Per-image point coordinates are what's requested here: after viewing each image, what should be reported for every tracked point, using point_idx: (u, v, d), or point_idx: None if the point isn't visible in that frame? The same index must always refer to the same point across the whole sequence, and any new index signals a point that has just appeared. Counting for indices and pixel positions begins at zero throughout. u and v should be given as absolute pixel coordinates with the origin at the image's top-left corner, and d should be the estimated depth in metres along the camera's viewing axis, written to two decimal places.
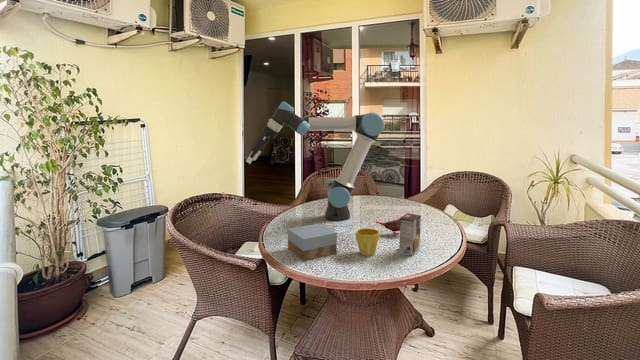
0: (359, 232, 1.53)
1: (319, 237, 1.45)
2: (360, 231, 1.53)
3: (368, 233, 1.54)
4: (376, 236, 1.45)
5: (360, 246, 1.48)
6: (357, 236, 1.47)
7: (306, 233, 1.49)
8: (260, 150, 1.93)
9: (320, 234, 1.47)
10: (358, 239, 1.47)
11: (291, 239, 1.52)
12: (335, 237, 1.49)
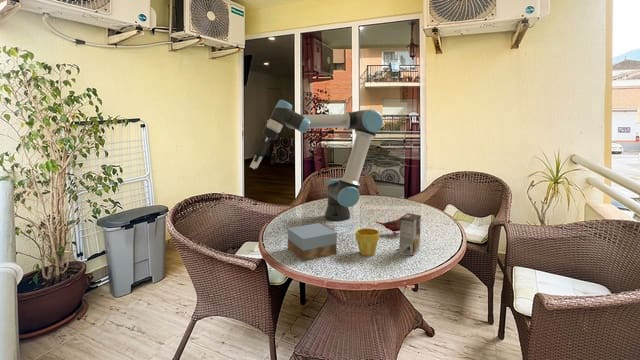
0: (359, 232, 1.53)
1: (319, 237, 1.45)
2: (360, 231, 1.53)
3: (368, 233, 1.54)
4: (376, 236, 1.45)
5: (360, 246, 1.48)
6: (357, 236, 1.47)
7: (306, 232, 1.49)
8: (261, 156, 1.81)
9: (320, 234, 1.47)
10: (358, 239, 1.47)
11: (291, 239, 1.52)
12: (335, 237, 1.49)
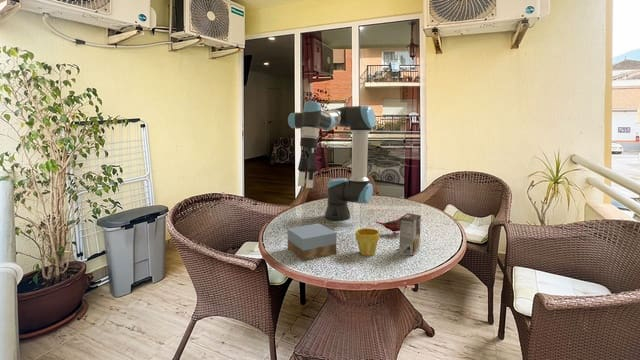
0: (359, 232, 1.53)
1: (319, 237, 1.45)
2: (360, 231, 1.53)
3: (368, 233, 1.54)
4: (376, 236, 1.45)
5: (360, 246, 1.48)
6: (357, 236, 1.47)
7: (306, 233, 1.49)
8: (303, 171, 1.56)
9: (320, 234, 1.47)
10: (358, 239, 1.47)
11: (291, 239, 1.52)
12: (335, 237, 1.49)
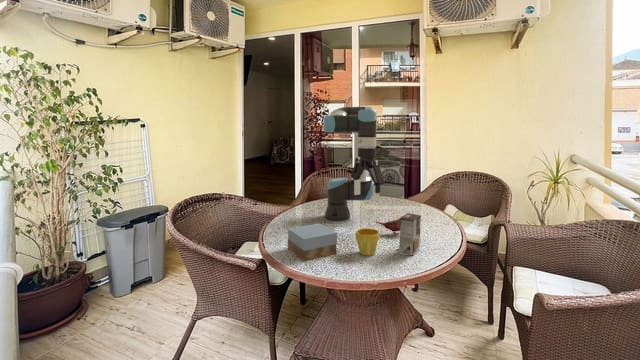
0: (359, 232, 1.53)
1: (319, 237, 1.45)
2: (360, 231, 1.53)
3: (368, 233, 1.54)
4: (376, 236, 1.45)
5: (360, 246, 1.48)
6: (357, 236, 1.47)
7: (307, 233, 1.49)
8: (358, 179, 1.52)
9: (320, 234, 1.47)
10: (358, 239, 1.47)
11: (291, 239, 1.52)
12: (335, 237, 1.49)
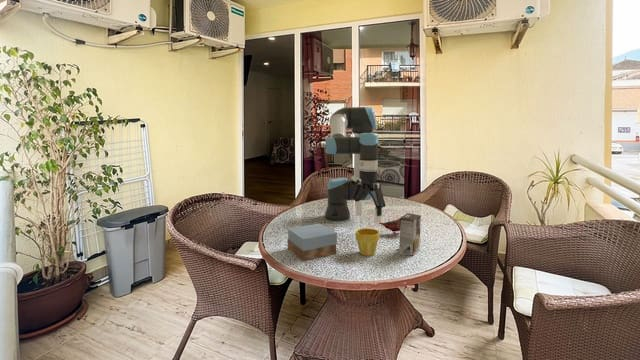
0: (359, 232, 1.53)
1: (319, 237, 1.45)
2: (360, 231, 1.53)
3: (368, 233, 1.54)
4: (376, 236, 1.45)
5: (360, 246, 1.48)
6: (357, 236, 1.47)
7: (306, 233, 1.49)
8: (359, 200, 1.53)
9: (320, 234, 1.47)
10: (358, 239, 1.47)
11: (291, 239, 1.52)
12: (335, 237, 1.49)
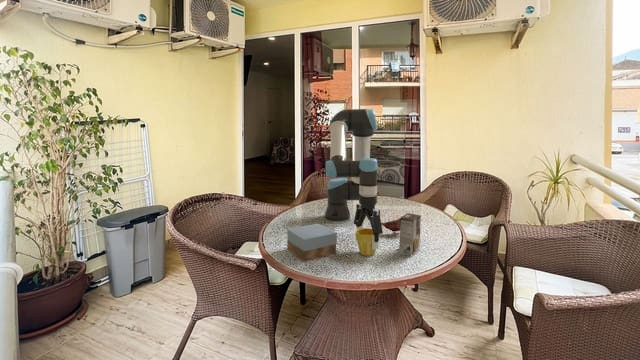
0: (359, 232, 1.53)
1: (319, 237, 1.45)
2: (360, 231, 1.53)
3: (368, 233, 1.54)
4: None
5: (360, 246, 1.48)
6: (357, 236, 1.47)
7: (306, 233, 1.48)
8: (360, 226, 1.54)
9: (320, 234, 1.47)
10: (358, 239, 1.47)
11: (291, 239, 1.52)
12: (335, 237, 1.49)
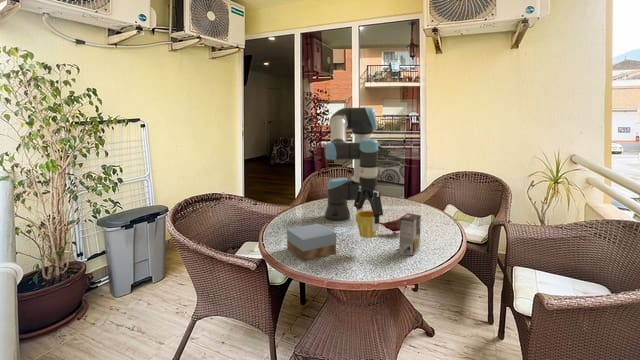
0: (359, 214, 1.52)
1: (319, 237, 1.45)
2: (360, 214, 1.52)
3: (368, 216, 1.53)
4: None
5: (360, 228, 1.47)
6: (357, 218, 1.46)
7: (306, 233, 1.48)
8: None
9: (319, 234, 1.47)
10: (358, 221, 1.46)
11: (290, 239, 1.52)
12: (335, 237, 1.49)
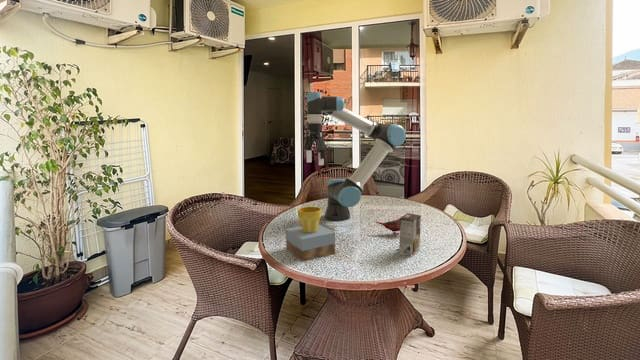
0: (303, 210, 1.54)
1: (317, 237, 1.45)
2: (304, 209, 1.54)
3: (312, 211, 1.55)
4: (316, 213, 1.46)
5: (301, 223, 1.49)
6: (298, 213, 1.48)
7: (305, 233, 1.49)
8: (309, 150, 1.87)
9: (318, 234, 1.47)
10: (299, 216, 1.48)
11: (289, 239, 1.52)
12: (333, 237, 1.49)
